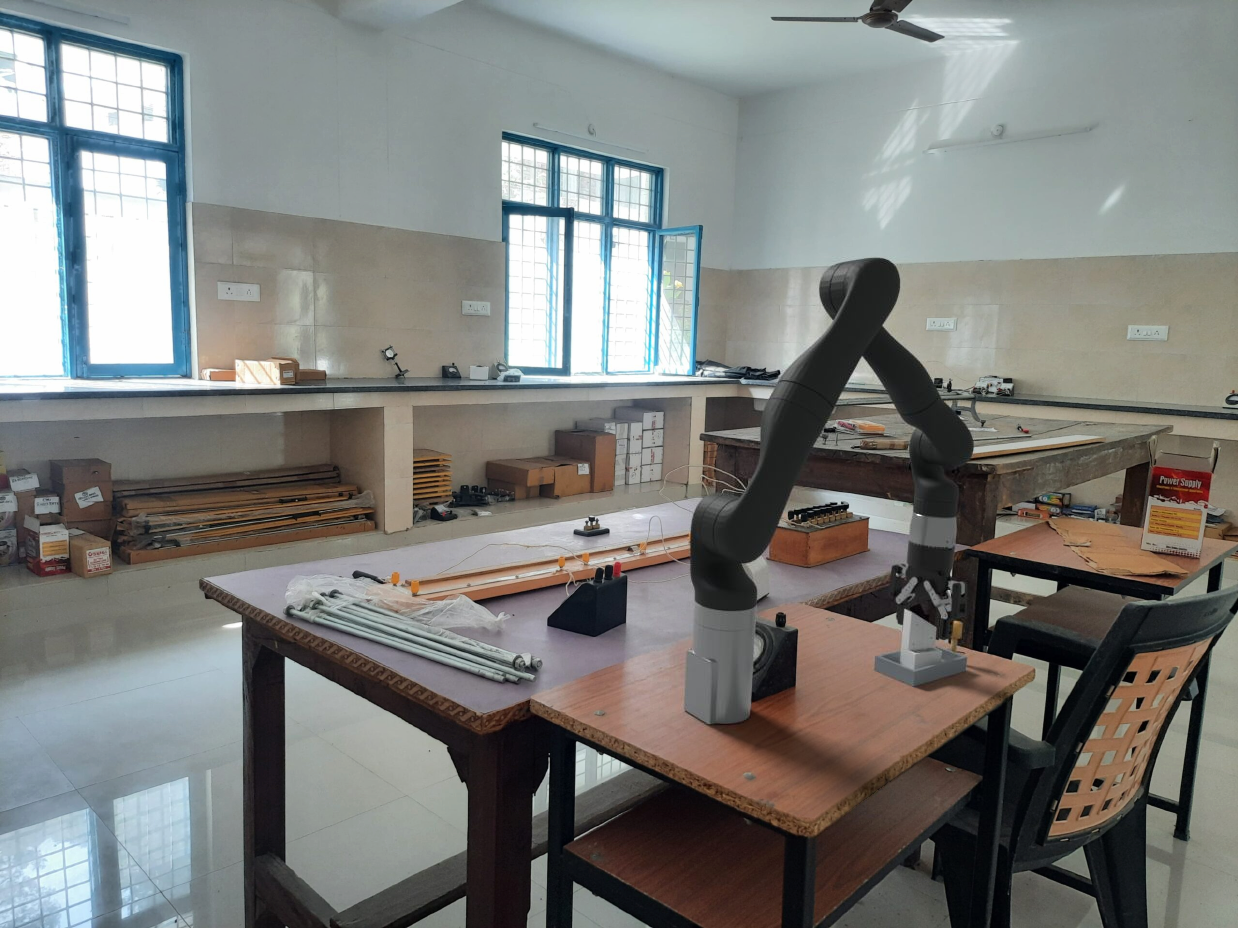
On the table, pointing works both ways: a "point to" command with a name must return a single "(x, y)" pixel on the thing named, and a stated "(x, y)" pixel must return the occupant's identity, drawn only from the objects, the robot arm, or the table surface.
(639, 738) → the table surface
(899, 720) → the table surface
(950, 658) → the shallow grey tray
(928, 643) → the white angled block
